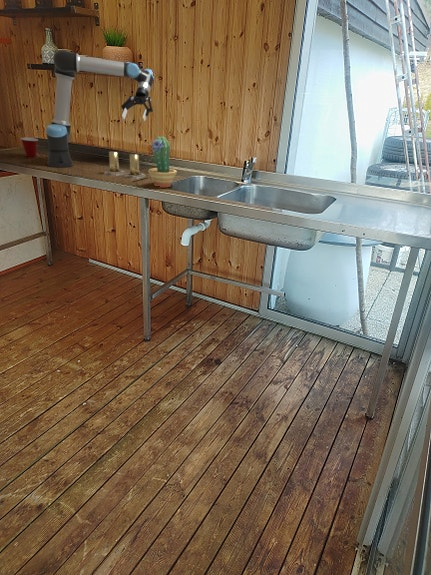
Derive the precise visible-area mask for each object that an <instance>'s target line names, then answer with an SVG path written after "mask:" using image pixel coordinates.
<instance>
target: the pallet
mask: <svg viewBox="0 0 431 575" xmlns="http://www.w3.org/2000/svg"><path fill="white" fill-rule="evenodd" d="M100 175H102V176H106V177H112V178H120V179H125V180H132V183H136V182H140V181H143V180H144V181H145V180H147V179H149V176H148V175H146V174H145V173H140V172H139V175H138V176H133V175H130V172H126V171H125V170H121V169H119V172H117V173H114V172H110V169H108V170H103V173H102V174H100Z"/></svg>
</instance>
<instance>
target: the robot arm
mask: <svg viewBox="0 0 431 575" xmlns="http://www.w3.org/2000/svg"><path fill="white" fill-rule="evenodd" d="M52 61H53V64H54V75H55V76H56V85H55V86H56V87H55V88H56V90H55V103H54V104H55V105H54V117H53V119H52V120H51V123H50V124H49V125H47V126H46V130H45V132H46V138H47V139H46V140H47V146H48V156H47V161H46V164H47V166H48V167H51V168H68V167H72V166H74V162H73V160H72V158H71V157H72V156H71V154H70V151H69V142H70V140H71V138H72V134H71V128H72V126H71V125H72V124H71V123H70V122H69V121H70V119H69V118H70V109H71V96H72V95H71V94H72V84H73V80H75V78H76V73H79V72H80V71H81V72H87V73H88V72H89V73H96V74H103V75H109V76H110V75H111V76H117V77H118V76H119V77H125V78H131V79H132V80H134V81H136V82H138V86H137V89H136V92H135V94H134V96H133V95H130V96H129V98H127V99H126V100H125V101H124V103H122V105H121V109H122V115H121V118H122V120H125V119H126V117H127V114H128V110H129V109H131V108H132V107H134V106H137V105H141V106H142V105H143V106H144V108H145V110H144V113H143V115H142V121H143V122H145V121H146V119H147V117H148V116H149V114H150V113H153V111H154V110H153V106H152V98H151V97H150V96H149V95H150V92H151V88H152V86H153V83H154V81H155V77H154V76H153V72H154V71H153V70H152V69H150V68H145V69H141V68H140V67H139V66H138V64H136V63H134V62H129V61H128V62H126V61H125V62H126V63H125V62H124V61H118V60H111V59H104V58H97V57H91V56H84V55H79V53H77V52H72V51H69V50H66V49H58V50H56V51H55V52H54V55H53V57H52ZM152 71H153V72H152ZM146 102H148V105H147V103H146Z"/></svg>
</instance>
